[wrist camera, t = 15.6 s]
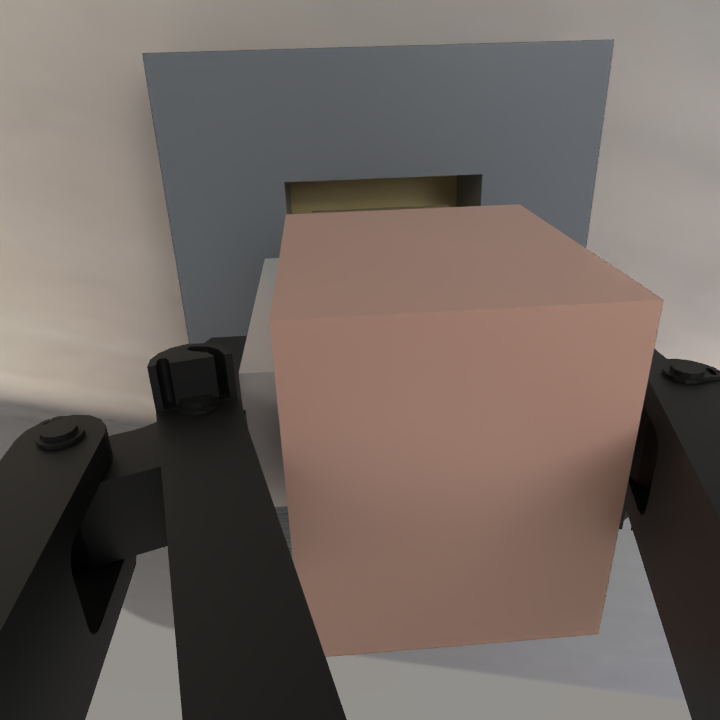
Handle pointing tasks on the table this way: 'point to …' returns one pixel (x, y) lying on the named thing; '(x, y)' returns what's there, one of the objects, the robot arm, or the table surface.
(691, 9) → the table surface
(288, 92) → the socket block
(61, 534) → the robot arm
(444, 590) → the plug
